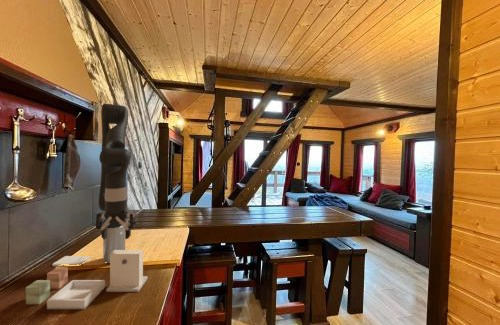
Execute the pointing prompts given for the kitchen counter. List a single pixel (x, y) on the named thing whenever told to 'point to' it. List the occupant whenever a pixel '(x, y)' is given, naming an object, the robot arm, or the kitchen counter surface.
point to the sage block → (37, 292)
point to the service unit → (126, 271)
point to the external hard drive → (71, 260)
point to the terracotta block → (58, 277)
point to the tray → (76, 294)
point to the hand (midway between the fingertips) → (116, 238)
